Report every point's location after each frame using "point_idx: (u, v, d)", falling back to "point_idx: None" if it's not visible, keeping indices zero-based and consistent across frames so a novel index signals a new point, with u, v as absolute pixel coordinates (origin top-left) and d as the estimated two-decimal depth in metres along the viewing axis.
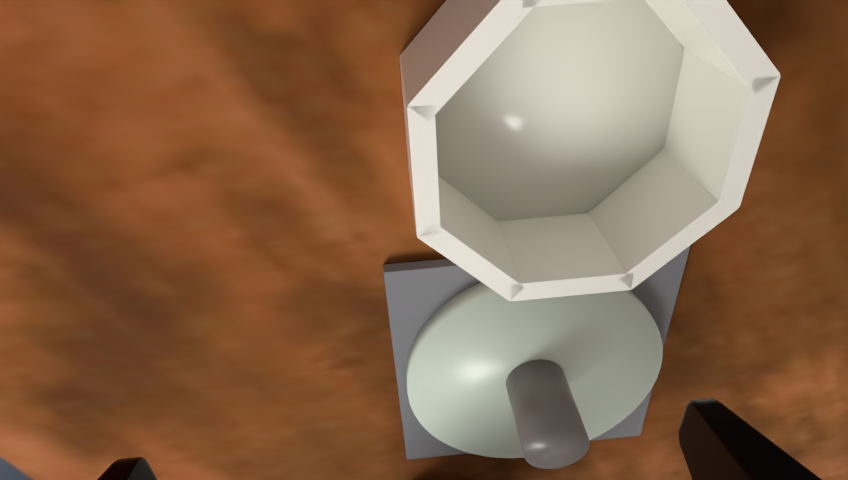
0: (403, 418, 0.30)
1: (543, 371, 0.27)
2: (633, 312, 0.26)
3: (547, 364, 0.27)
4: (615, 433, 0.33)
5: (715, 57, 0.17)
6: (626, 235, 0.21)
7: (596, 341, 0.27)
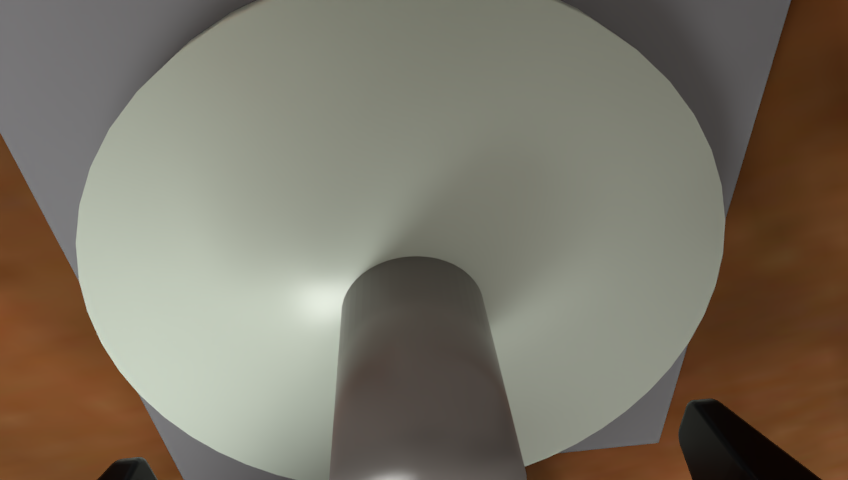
0: (149, 407, 0.14)
1: (416, 281, 0.10)
2: (653, 114, 0.10)
3: (432, 267, 0.11)
4: (609, 438, 0.16)
5: None
6: None
7: (556, 206, 0.10)
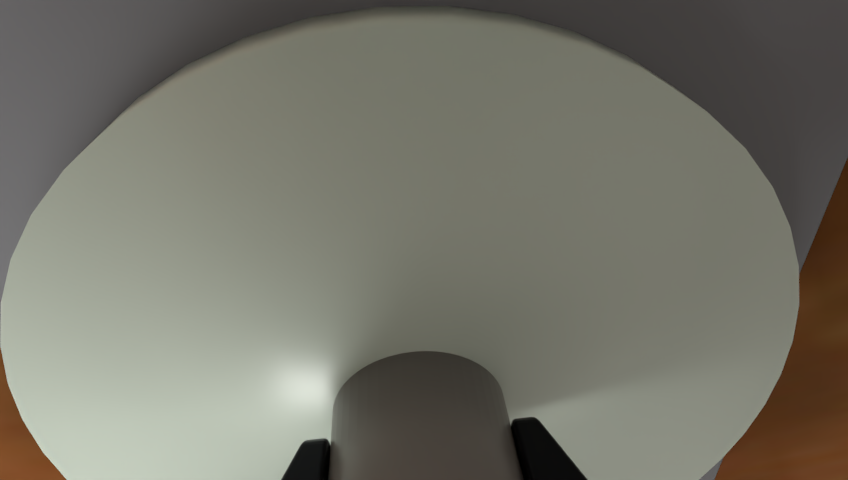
0: None
1: (425, 389, 0.08)
2: (722, 188, 0.08)
3: (443, 366, 0.09)
4: None
5: None
6: None
7: (596, 293, 0.08)
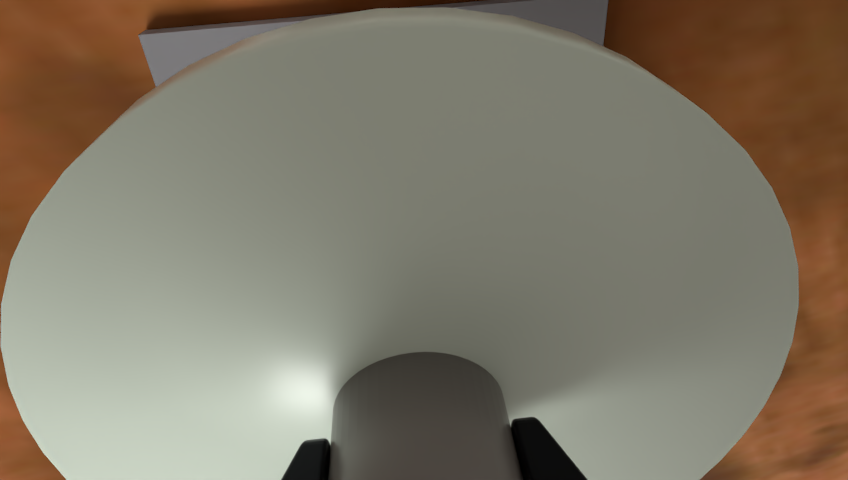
0: None
1: (424, 390, 0.08)
2: (722, 190, 0.08)
3: (443, 367, 0.09)
4: None
5: None
6: None
7: (596, 294, 0.08)
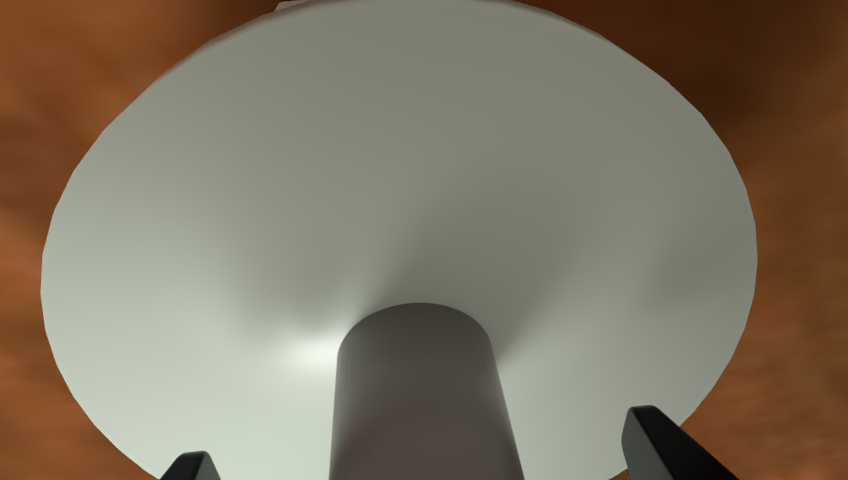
0: None
1: (419, 334, 0.09)
2: (683, 151, 0.09)
3: (437, 315, 0.10)
4: None
5: None
6: None
7: (573, 248, 0.09)
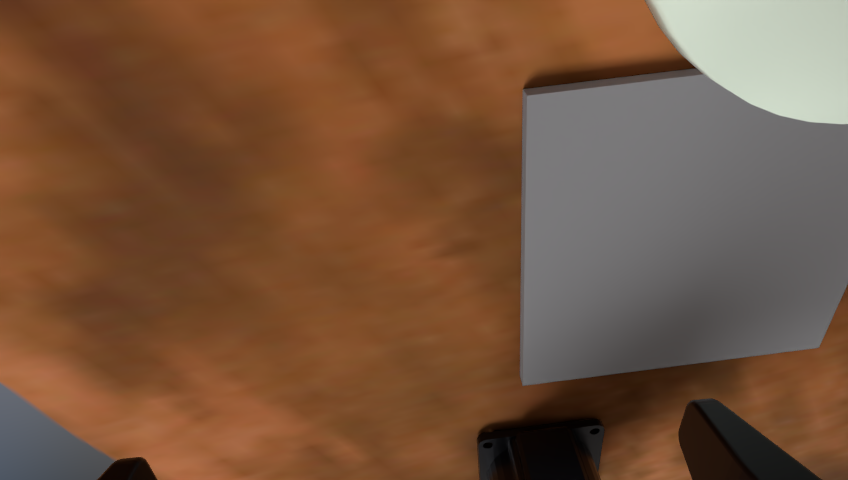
0: (525, 326, 0.23)
1: None
2: None
3: None
4: (788, 345, 0.26)
5: None
6: None
7: None
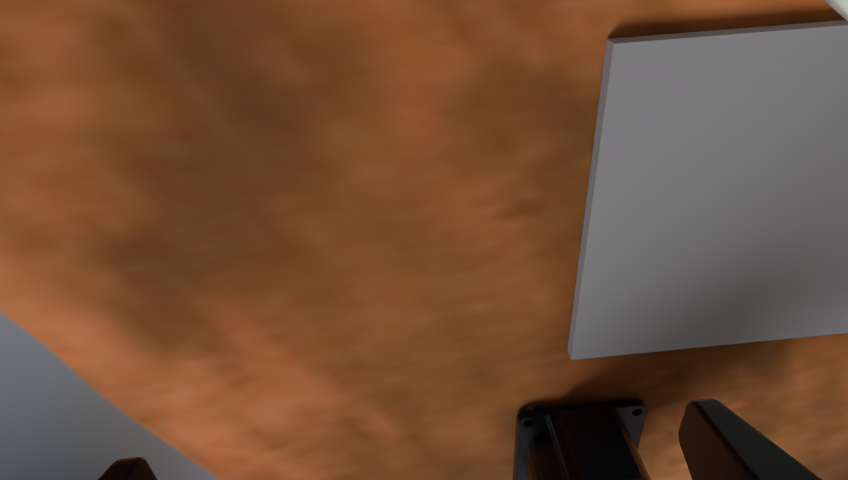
0: (582, 295, 0.23)
1: None
2: None
3: None
4: (841, 326, 0.25)
5: None
6: None
7: None
